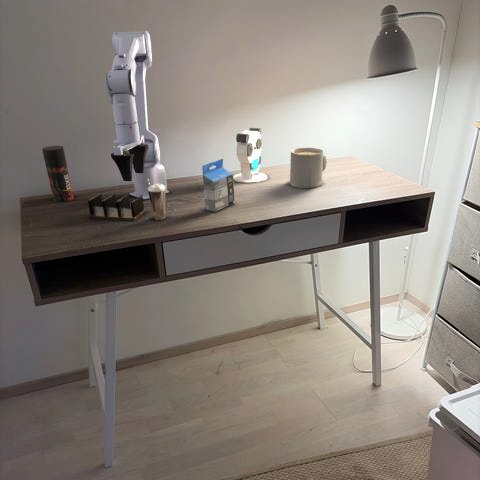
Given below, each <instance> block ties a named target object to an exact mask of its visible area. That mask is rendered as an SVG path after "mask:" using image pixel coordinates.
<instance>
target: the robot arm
mask: <svg viewBox="0 0 480 480" xmlns="http://www.w3.org/2000/svg"><path fill="white" fill-rule="evenodd" d="M111 40H112V41H111V42H112V48H113V53H114V55H115V56H114V58H113V61H112V66H111V69H110V70H108V72H106V73H105V86H106V90H107V93H108V97H109V98H108V99H109V102H110V105H111V106H112V107H111V108H112V114H113V119H114V121H113V122H114V127H115V133H116V140H113V144H114V145H113V146H112V151H113V152H112V153H111V154H110V158H111V160H112V161H113V162H114V164H115V165H116V166H117V169H118V171H119V173H120V175H121V178H122V181H123V182H132V181H133V187H134V191H132V192H129V196H132V197H135V198H137V197H139V196H140V195H142V196H143V200H148V199H150V197H149V193H148V187H149V184H148V181H147V179H148V180H149V183H150V185H154V184H159V183H160V184H162V185H164V186H165V194H168V193H170V191H169V190H168V185H167V175H166V174H167V173H166V170H165V167H164V165H163V164H162V163H161V162H160V161H161V149H160V144H159V138H158V136H157V135H156V134H155V133H153V132H152V131H151V130H149V120H148V105H147V104H148V103H147V102H148V101H147V88H146V86H147V85H146V75H147V70H148V69H150V68H151V67H152V63H153V55H152V42H151V36H150V33H149V31H148V30H143V31H141V30H139V31H114V32H113V33H112V37H111Z"/></svg>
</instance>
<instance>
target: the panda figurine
mask: <svg viewBox="0 0 480 480" xmlns="http://www.w3.org/2000/svg"><path fill="white" fill-rule="evenodd" d="M261 134H262V128H260V127H249V129H248V130H244V131H242V132H241V133H236V137H235V140H236V157H237V160H238V161H239V165H240V173H237V174H235V175H233V181H235V182H239V183H244V184H245V183H246V184H251V183H252V184H253V183H259V182H260V183H261V182H264V181H266V180H267V179H268V175H267V174H265V173H263V172H261V171H260V164H261V162H262V157H261V151H262V143H263V142H262V138H261Z"/></svg>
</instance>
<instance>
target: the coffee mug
mask: <svg viewBox="0 0 480 480" xmlns="http://www.w3.org/2000/svg"><path fill="white" fill-rule="evenodd" d="M327 160H328V159H327V155H326V154H324V150H323V149H321V148H317V147H297V148H293V149H292V150H290V166H289V167H290V169H289V172H290V174H289V177H290V178H289V185H290V186H291V187H294V188H299V189H312V188H318V187H320V186H322V185H323V184H322V183H323V172H324V171H325V170H326V167H327V163H328V161H327Z"/></svg>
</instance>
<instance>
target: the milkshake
mask: <svg viewBox="0 0 480 480" xmlns="http://www.w3.org/2000/svg"><path fill="white" fill-rule="evenodd" d="M147 181H148V184H149V187H148V193H149V197H150V198H149V201H150V206H151V211H152V216H153V220H155V221H162V220H165V219H167V209H166V207H167V206H166V193H165V186H164V185H162V184H160V183H159V184H154V185H150V183H149V180H148V179H147Z"/></svg>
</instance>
